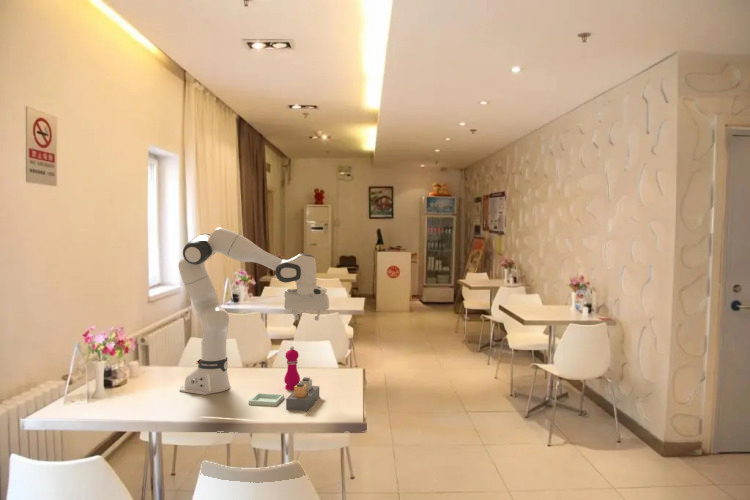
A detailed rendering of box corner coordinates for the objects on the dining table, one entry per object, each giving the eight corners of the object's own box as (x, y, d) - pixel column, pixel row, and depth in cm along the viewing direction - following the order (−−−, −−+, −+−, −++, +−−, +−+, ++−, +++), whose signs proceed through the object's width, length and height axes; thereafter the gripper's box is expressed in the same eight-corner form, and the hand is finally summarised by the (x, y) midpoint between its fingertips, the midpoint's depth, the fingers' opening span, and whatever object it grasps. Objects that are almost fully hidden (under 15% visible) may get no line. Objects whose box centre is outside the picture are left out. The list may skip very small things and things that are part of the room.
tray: (248, 405, 209) (248, 400, 209) (257, 397, 219) (257, 392, 219) (275, 407, 208) (275, 402, 207) (284, 399, 217) (284, 394, 217)
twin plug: (300, 397, 214) (300, 379, 214) (303, 394, 218) (303, 376, 218) (309, 397, 213) (309, 379, 213) (311, 394, 217) (311, 377, 217)
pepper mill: (296, 392, 227) (296, 348, 226) (281, 391, 229) (281, 347, 228) (302, 387, 234) (302, 345, 233) (287, 386, 236) (287, 344, 235)
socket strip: (286, 410, 204) (286, 398, 204) (299, 396, 221) (299, 385, 221) (307, 412, 202) (307, 400, 202) (319, 397, 220) (319, 386, 220)
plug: (294, 403, 206) (294, 385, 206) (297, 400, 210) (297, 382, 210) (303, 404, 206) (303, 385, 205) (306, 400, 210) (306, 382, 209)
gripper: (282, 289, 224) (282, 320, 224) (326, 290, 221) (326, 321, 221) (286, 288, 230) (287, 318, 231) (329, 289, 227) (330, 319, 227)
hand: (306, 319), depth 226 cm, fingers open, 8 cm apart
